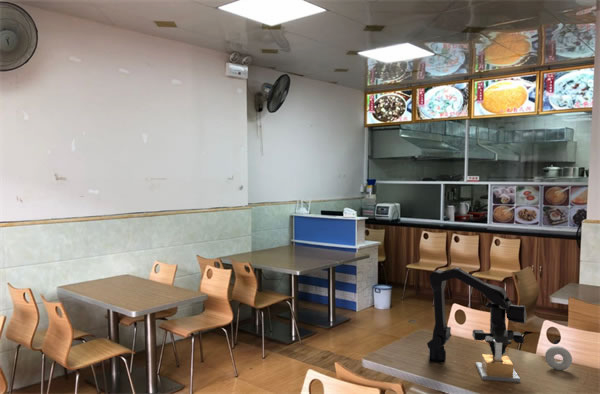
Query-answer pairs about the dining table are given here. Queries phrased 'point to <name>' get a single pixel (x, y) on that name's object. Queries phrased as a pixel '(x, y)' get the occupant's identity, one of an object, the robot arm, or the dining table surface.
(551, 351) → the donut
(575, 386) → the dining table surface
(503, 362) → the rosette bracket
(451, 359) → the dining table surface
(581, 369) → the dining table surface
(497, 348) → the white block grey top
